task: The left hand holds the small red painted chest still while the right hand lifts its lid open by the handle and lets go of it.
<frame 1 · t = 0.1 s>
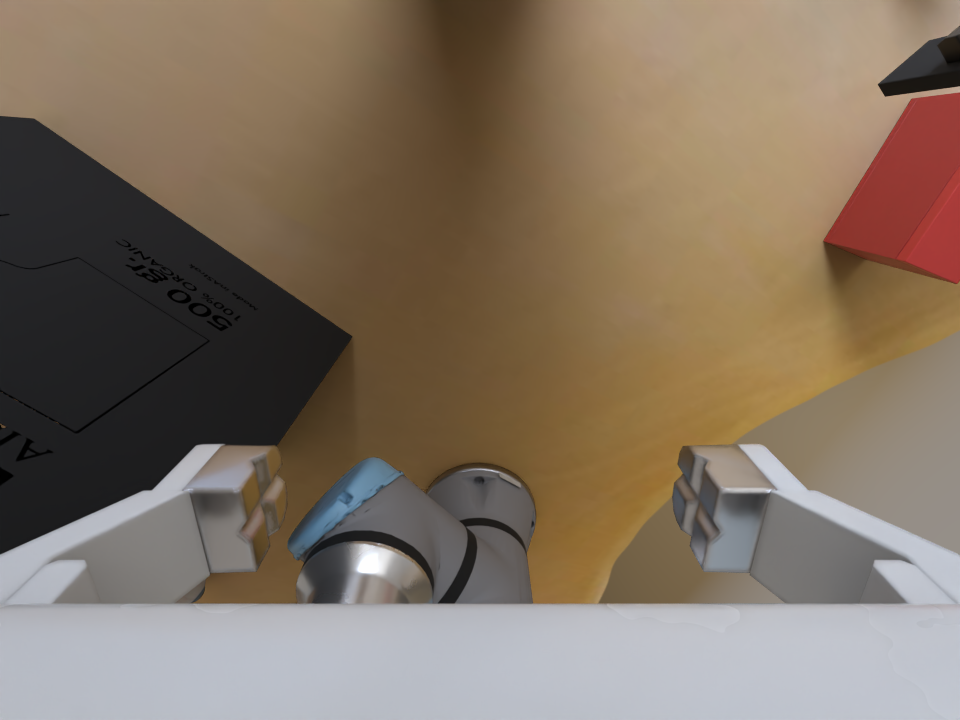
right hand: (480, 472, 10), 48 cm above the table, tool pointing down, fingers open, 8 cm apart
eyeball: (193, 566, 73), on the table
chest: (887, 183, 54), on the table
cardboard box: (166, 306, 59), on the table
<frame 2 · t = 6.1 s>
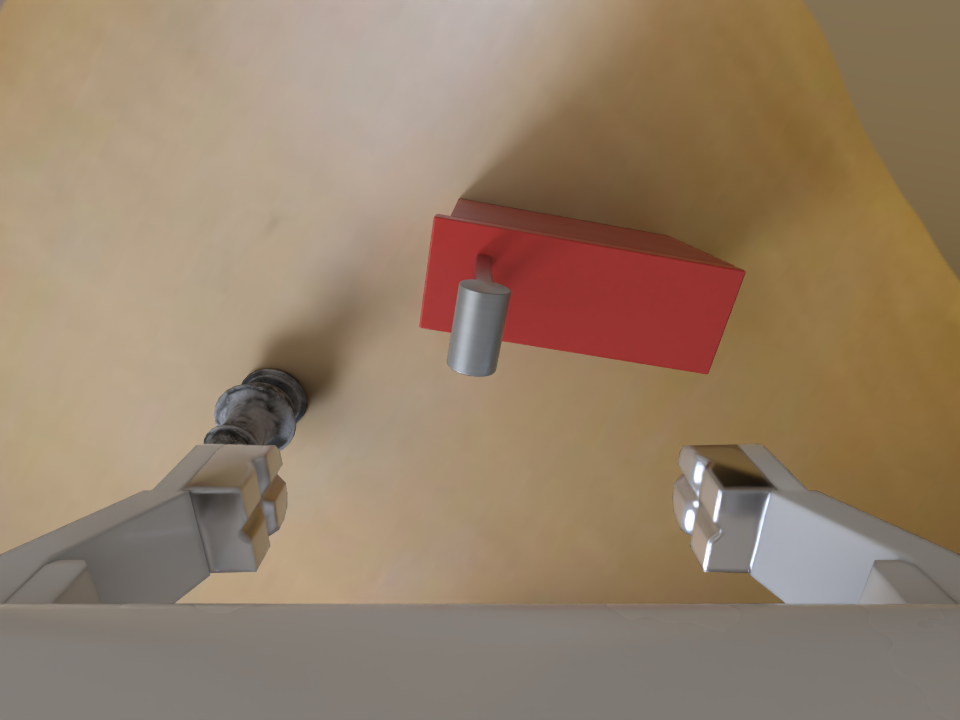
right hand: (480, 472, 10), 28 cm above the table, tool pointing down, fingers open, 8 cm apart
chest: (555, 257, 37), on the table
lid: (592, 320, 23), point 15 cm above the table, hinge at 0.0°
grey chess bishop: (274, 398, 41), on the table
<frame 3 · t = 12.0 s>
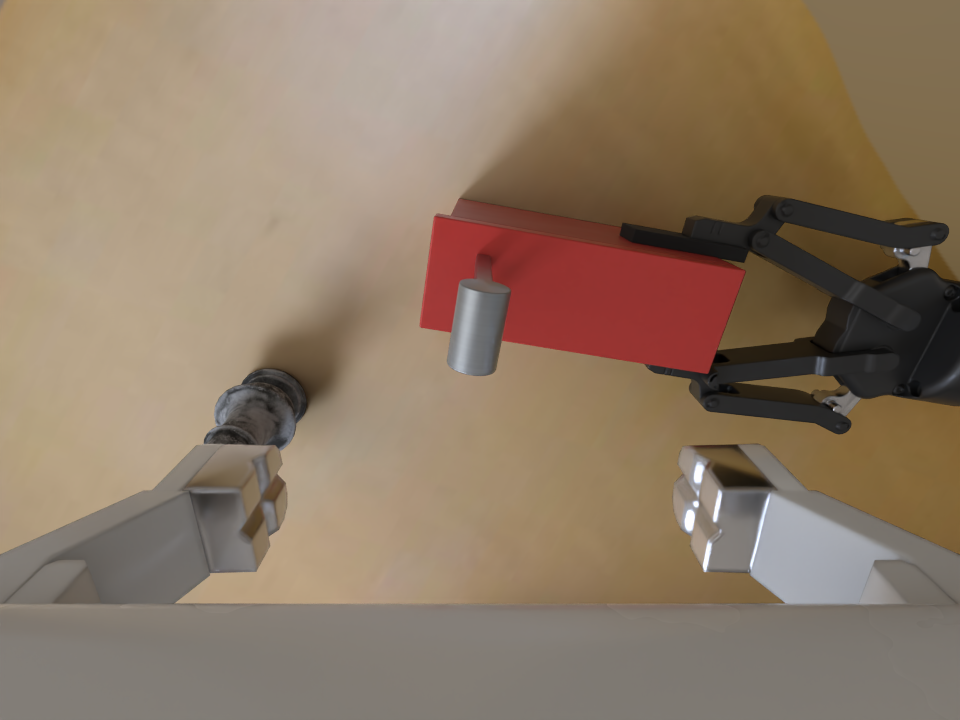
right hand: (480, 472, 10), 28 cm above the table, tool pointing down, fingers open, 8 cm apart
left hand: (612, 286, 31), fingers closed on chest, 6 cm apart
chest: (555, 257, 37), on the table, touching left hand
lid: (592, 320, 23), point 15 cm above the table, hinge at 0.0°
grey chess bishop: (274, 398, 41), on the table
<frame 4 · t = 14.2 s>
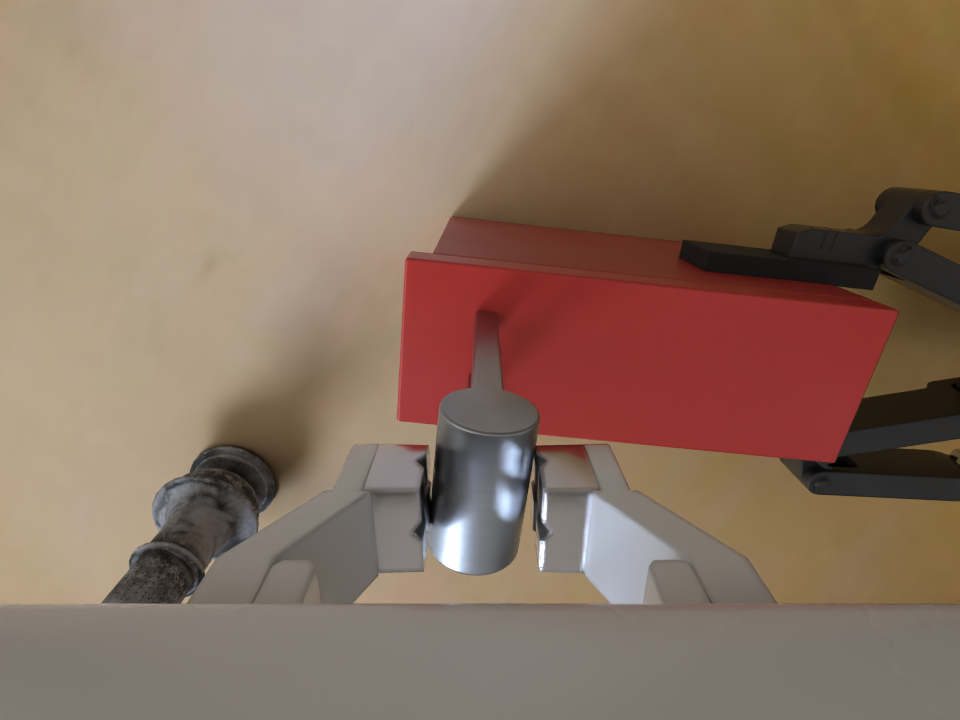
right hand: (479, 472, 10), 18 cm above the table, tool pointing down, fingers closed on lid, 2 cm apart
left hand: (674, 331, 21), fingers closed on chest, 6 cm apart
chest: (583, 285, 28), on the table, touching left hand
lid: (672, 417, 14), point 15 cm above the table, hinge at -0.1°, touching right hand
grey chess bishop: (234, 480, 32), on the table
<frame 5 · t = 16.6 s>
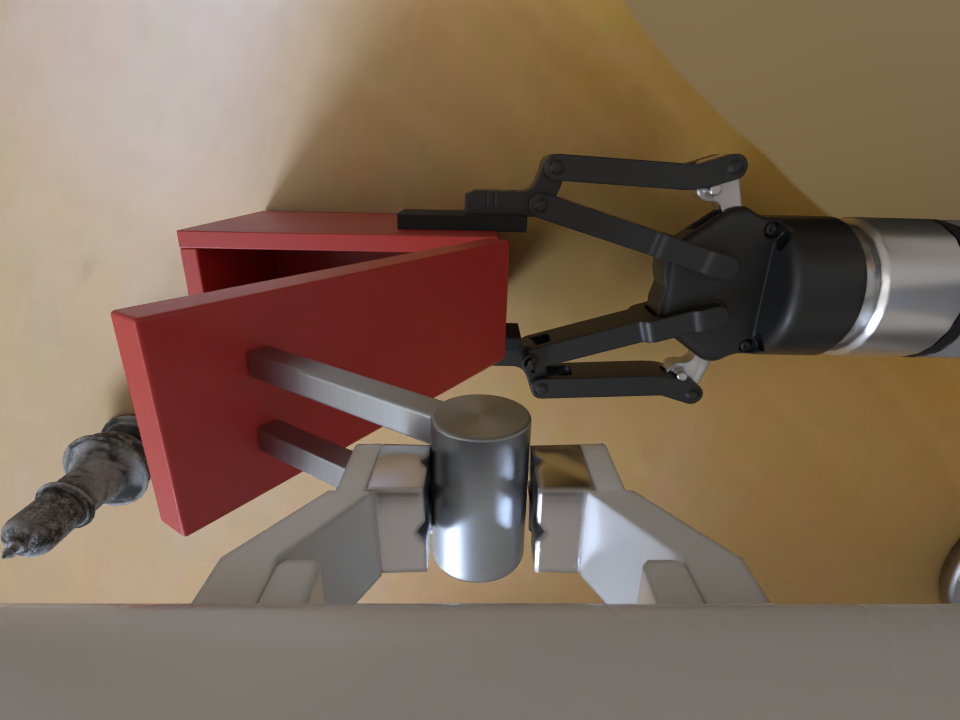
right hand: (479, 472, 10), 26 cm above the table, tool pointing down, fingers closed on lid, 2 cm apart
left hand: (404, 279, 28), fingers closed on chest, 6 cm apart
chest: (380, 256, 35), on the table, touching left hand
lid: (474, 368, 16), point 20 cm above the table, hinge at 56.4°, touching right hand
grey chess bishop: (138, 444, 40), on the table
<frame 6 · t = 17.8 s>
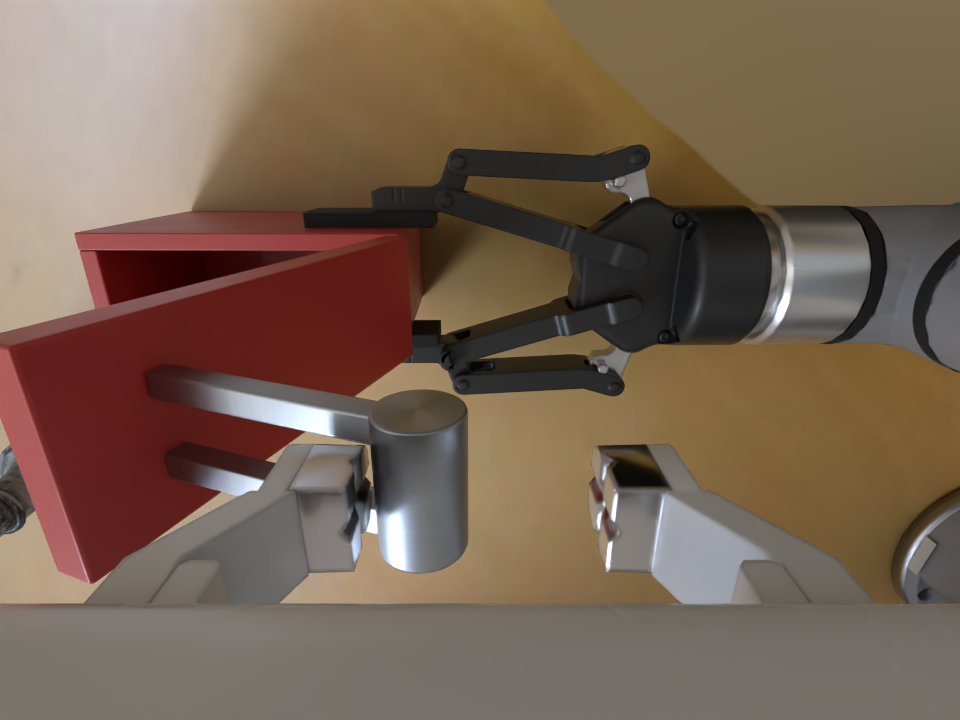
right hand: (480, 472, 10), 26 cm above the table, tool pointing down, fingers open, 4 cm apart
left hand: (319, 278, 28), fingers closed on chest, 6 cm apart
chest: (309, 255, 34), on the table, touching left hand
lid: (391, 366, 16), point 20 cm above the table, hinge at 68.6°, touching right hand
grey chess bishop: (80, 448, 40), on the table
when the left hand's fingers open (7 cm above the table, at t = 21.3 s): chest stays where it is, on the table.
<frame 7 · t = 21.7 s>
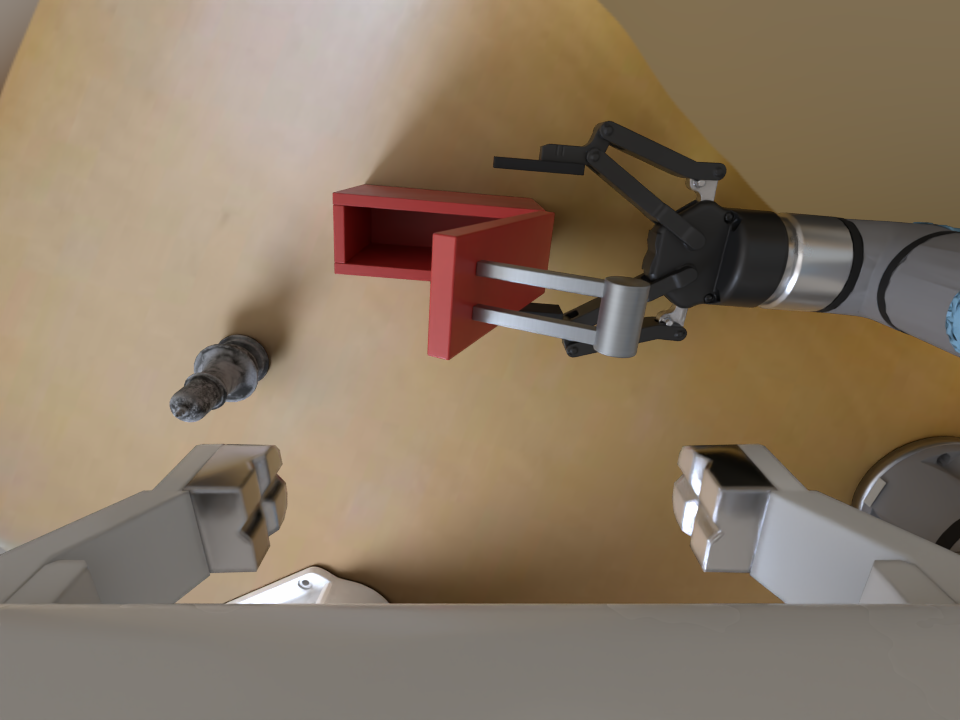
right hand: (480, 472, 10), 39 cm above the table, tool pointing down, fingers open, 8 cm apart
left hand: (487, 238, 40), fingers open, 10 cm apart
chest: (446, 224, 46), on the table
lid: (569, 282, 28), point 20 cm above the table, hinge at 66.8°
grey chess bishop: (243, 358, 51), on the table
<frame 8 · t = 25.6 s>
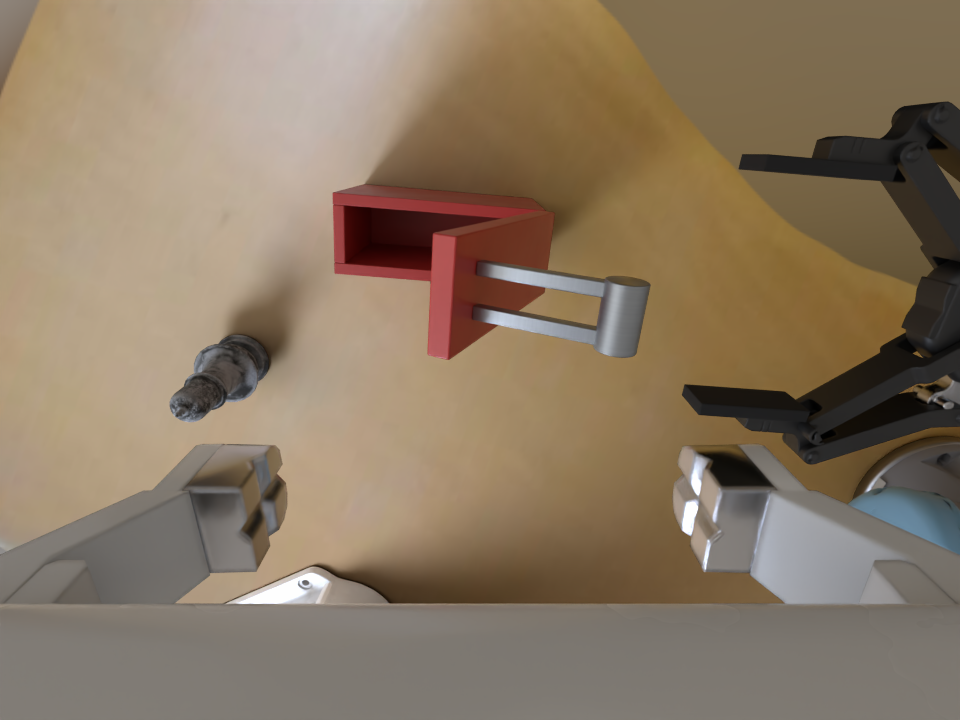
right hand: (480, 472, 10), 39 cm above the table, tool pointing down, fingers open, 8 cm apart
left hand: (718, 290, 29), fingers open, 13 cm apart
chest: (446, 224, 46), on the table
lid: (569, 281, 28), point 20 cm above the table, hinge at 66.8°
grey chess bishop: (243, 358, 51), on the table
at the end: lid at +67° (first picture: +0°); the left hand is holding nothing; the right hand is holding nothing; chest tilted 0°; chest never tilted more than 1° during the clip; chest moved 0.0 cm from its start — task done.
